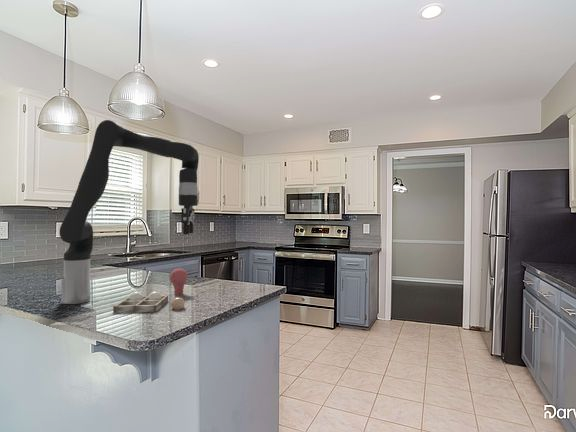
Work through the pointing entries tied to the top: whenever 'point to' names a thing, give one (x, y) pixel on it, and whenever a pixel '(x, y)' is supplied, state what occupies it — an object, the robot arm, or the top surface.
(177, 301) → the beige ball
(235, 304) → the top surface
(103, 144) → the robot arm
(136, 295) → the white egg back left
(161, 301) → the divided tray
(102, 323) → the top surface
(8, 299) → the top surface
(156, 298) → the white egg back right
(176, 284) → the light bulb
